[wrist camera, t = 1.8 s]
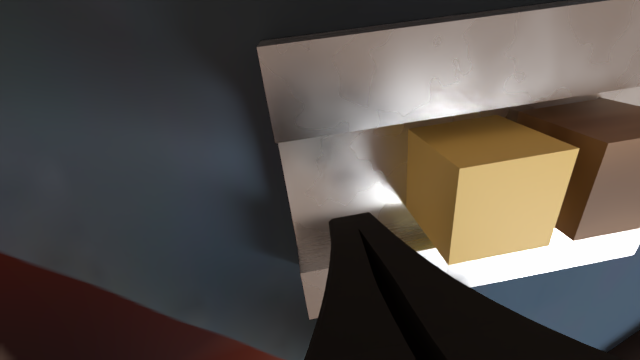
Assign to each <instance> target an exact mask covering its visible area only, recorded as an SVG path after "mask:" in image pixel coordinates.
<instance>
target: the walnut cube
mask: <svg viewBox="0 0 640 360" xmlns="http://www.w3.org/2000/svg"><path fill="white" fill-rule="evenodd" d="M517 123H519V124H521V125H524V126H526V127H529V128H531V129H533V130H536V131H538V132H541V133H543V134H546V135H548V136H551V137H553V138H555V139H558V140H560V141H563V142H565V143H568V144H570V145H573V146H575V147H578V148H580V149H579V152H578V155H577V158H576V161H575V165H574V168H573V171H572V174H571V177H570V181H569V184H568V187H567V190H566V193H565V196H564V200H563V203H562V206H561V209H560V212H559V216H558V219H557V222H556V225H555V228H556V229H557V230H559V231H560V232H561V233H563V234H564V235H565V236H567V237H568V238H570V239H571V240H572V241H577V240H582V239H587V238H592V237H598V236H603V235H608V234H613V233H618V232H623V231H629V230H634V229H639V228H640V106H636V105H632V104H627V103H623V102H618V101H614V100H610V99H605V98H600V99H594V100H587V101H581V102H575V103H568V104H562V105H556V106H549V107H543V108H537V109H530V110H524V111H519V113H518V118H517Z"/></svg>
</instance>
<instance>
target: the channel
mask: <svg viewBox="0 0 640 360" xmlns="http://www.w3.org/2000/svg"><path fill="white" fill-rule="evenodd" d="M257 52H258V57H259V62H260V68H261V73H262V78H263V83H264V88H265V93H266V99H267V104H268V109H269V114H270V119H271V124H272V129H273V135H274V140H275V143H278V146H279V151H280V156H281V162H282V167H283V172H284V178H285V183H286V188H287V193H288V199H289V204H290V209H291V215H292V220H293V225H294V230H295V236H296V241H297V248H298V256H299V265H300V274H301V279H302V284H303V289H304V294H305V299H306V305H307V310H308V315H309V320H310V319H315V318H318V316H319V312H320V308H321V304H322V300H323V296H324V291H325V286H326V281H327V275H328V270H329V262H330V251H331V239H330V231H329V223H328V222H329V221H330V220H331V219H333V218H339V217H344V216H350V215H355V214H361V213H367V212H369V213H371V214H372V215H373V216H374V217H375V218H377V219H378V220H379V221H380V222H381V223H382V224H383V225H384V226H386V227H387V228H388V229H389V230H390V231H391V232H393V233H394V234H395V235H396V236H397V237H399V238H400V239H401V240H402V241H403V242H405V243H406V244H407V245H409V246H410V247H411V248H412V249H414V250H415V251H416V252H417V253H419V254H420V255H421V256H423V257H424V258H425V259H427V260H428V261H430V262H431V263H432V264H434V265H435V266H437V267H438V268H440V269H441V270H442V271H444V272H445V273H447V274H448V275H450V276H452V277H453V278H455V279H456V280H458V281H460V282H461V283H463V284H465V285H466V286H468V287H475V286H480V285H485V284H490V283H495V282H500V281H505V280H510V279H515V278H520V277H525V276H530V275H535V274H540V273H545V272H550V271H555V270H560V269H565V268H570V267H575V266H580V265H585V264H590V263H595V262H600V261H605V260H610V259H615V258H620V257H625V256H630V255H634V254H635V252H636V250H637V248H638V246H639V244H640V228H639V229H634V230H629V231H623V232H618V233H613V234H608V235H603V236H598V237H592V238H587V239H582V240H577V241H572V240H571V239H570V238H568V237H567V236H565V235H564V234H563V233H561V232H560V231H559V230H557V229H556V228H554V231H553V235H552V238H551V241H550V244H549V246H546V247H541V248H536V249H530V250H525V251H520V252H515V253H510V254H505V255H499V256H494V257H489V258H484V259H479V260H473V261H468V262H463V263H458V264H453V265H448V264H447V263H446V261H445V260H444V259H443V257H442V256H441V255H440V253H439V252H438V250H437V249H436V248H435V246H434V245H433V244H432V242H431V241H430V240H429V238H428V237H427V235H426V234H425V233H424V231H423V230H422V229H421V227H420V226H419V224H418V223H417V222H416V220H415V219H414V218H413V216H412V215H411V213H410V212H409V211H408V209H407V208H406V194H407V156H408V129H410V128H416V127H423V126H429V125H435V124H442V123H448V122H454V121H461V120H467V119H473V118H480V117H486V116H492V115H499V116H502V117H504V118H506V119H509V120H511V121H514V122H516V123H517V118H518V113H519V111H524V110H530V109H537V108H543V107H549V106H556V105H562V104H568V103H575V102H581V101H587V100H594V99H600V98H605V99H610V100H614V101H618V102H623V103H627V104H632V105H636V106H640V0H567V1H559V2H552V3H544V4H537V5H529V6H521V7H514V8H506V9H499V10H491V11H483V12H476V13H468V14H461V15H453V16H445V17H438V18H430V19H423V20H415V21H407V22H400V23H392V24H384V25H377V26H369V27H362V28H354V29H346V30H339V31H331V32H324V33H316V34H308V35H301V36H293V37H286V38H278V39H270V40H263V41H260V42H259V44H258V46H257Z"/></svg>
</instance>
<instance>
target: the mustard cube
mask: <svg viewBox="0 0 640 360" xmlns="http://www.w3.org/2000/svg"><path fill="white" fill-rule="evenodd" d="M579 149H580V148H578V147H575V146H573V145H570V144H568V143H565V142H563V141H560V140H558V139H555V138H553V137H551V136H548V135H546V134H543V133H541V132H538V131H536V130H533V129H531V128H529V127H526V126H524V125H521V124H519V123H516V122H514V121H511V120H509V119H506V118H504V117H502V116H499V115H492V116H486V117H480V118H473V119H467V120H461V121H454V122H448V123H442V124H435V125H429V126H423V127H416V128H410V129H408V156H407V194H406V208H407V209H408V211H409V212H410V213H411V215H412V216H413V218H414V219H415V220H416V222H417V223H418V224H419V226H420V227H421V229H422V230H423V231H424V233H425V234H426V235H427V237H428V238H429V240H430V241H431V242H432V244H433V245H434V246H435V248H436V249H437V250H438V252H439V253H440V255H441V256H442V257H443V259H444V260H445V261H446V263H447V264H448V265H453V264H458V263H463V262H468V261H473V260H479V259H484V258H489V257H494V256H499V255H505V254H510V253H515V252H520V251H525V250H530V249H536V248H541V247H546V246H549V244H550V241H551V238H552V235H553V231H554V228H555V225H556V222H557V219H558V216H559V212H560V209H561V206H562V203H563V200H564V196H565V193H566V190H567V187H568V184H569V181H570V177H571V174H572V171H573V168H574V165H575V161H576V158H577V155H578V152H579Z"/></svg>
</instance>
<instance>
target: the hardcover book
mask: <svg viewBox="0 0 640 360" xmlns="http://www.w3.org/2000/svg"><path fill="white" fill-rule="evenodd" d="M608 353H609V354H611V355H614V356H617V357H619V358H622V359H624V360H640V330H639V331H638V332H636V333H635V334H633V335H632V336H631V337H629V338H628V339H626V340H625V341H623V342H622V343H621V344H619V345H618V346H616V347H615V348H613V349H612V350H611V351H609V352H608Z"/></svg>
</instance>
